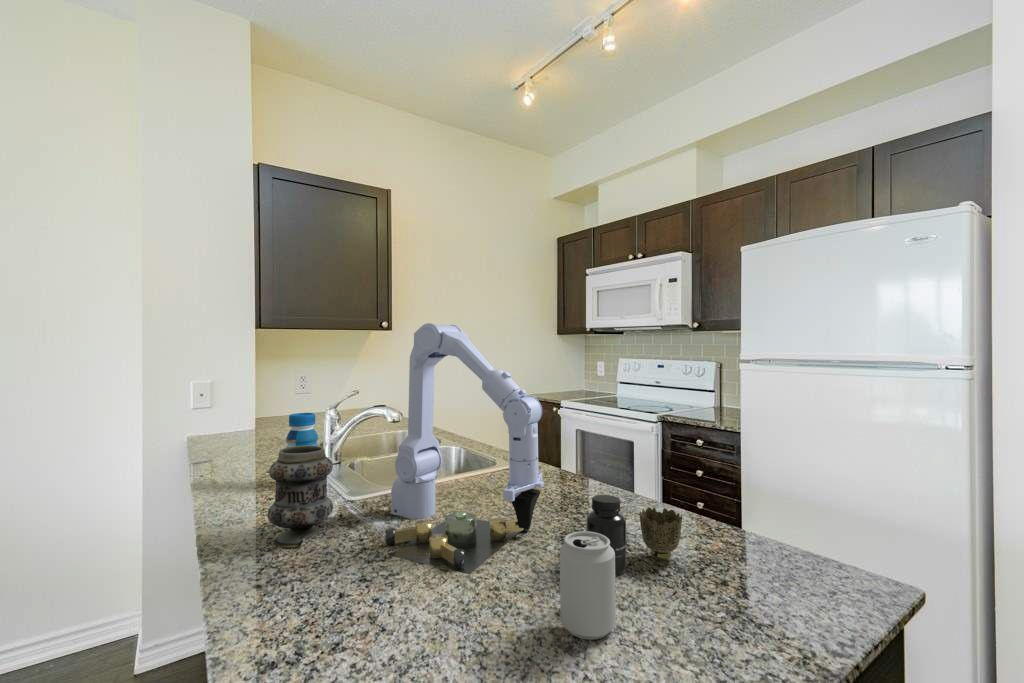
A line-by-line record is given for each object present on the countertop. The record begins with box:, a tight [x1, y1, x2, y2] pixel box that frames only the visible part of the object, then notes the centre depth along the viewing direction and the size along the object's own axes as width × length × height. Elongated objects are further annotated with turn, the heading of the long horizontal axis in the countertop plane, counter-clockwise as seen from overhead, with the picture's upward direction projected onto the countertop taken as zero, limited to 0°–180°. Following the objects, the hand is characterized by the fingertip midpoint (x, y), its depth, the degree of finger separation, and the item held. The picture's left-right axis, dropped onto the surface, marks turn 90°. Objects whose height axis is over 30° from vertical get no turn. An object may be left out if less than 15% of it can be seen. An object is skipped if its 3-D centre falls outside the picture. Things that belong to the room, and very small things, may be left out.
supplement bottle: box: [585, 494, 627, 577], centre depth 82 cm, size 7×7×12 cm
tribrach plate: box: [388, 510, 521, 575], centre depth 91 cm, size 17×22×6 cm
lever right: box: [489, 517, 530, 540], centre depth 94 cm, size 9×3×3 cm, turn 122°
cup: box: [638, 507, 683, 562], centre depth 86 cm, size 8×7×8 cm
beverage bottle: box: [285, 412, 319, 448], centre depth 132 cm, size 8×8×20 cm
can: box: [559, 530, 617, 641], centre depth 65 cm, size 8×8×12 cm
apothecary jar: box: [267, 445, 334, 549], centre depth 96 cm, size 12×12×18 cm
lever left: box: [385, 519, 433, 546], centre depth 90 cm, size 9×3×3 cm, turn 110°
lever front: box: [430, 534, 465, 568], centre depth 82 cm, size 9×3×3 cm, turn 42°
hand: (524, 527), depth 93 cm, fingers closed, pressing on lever right
